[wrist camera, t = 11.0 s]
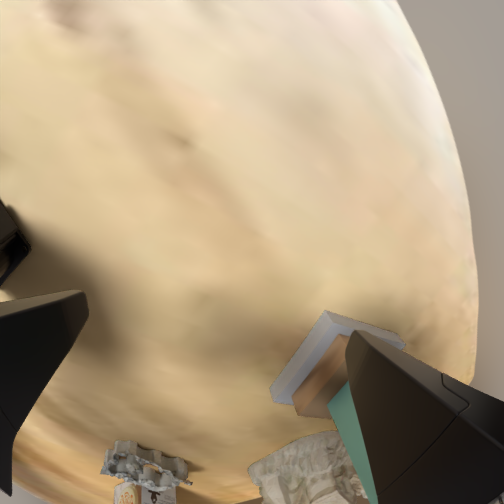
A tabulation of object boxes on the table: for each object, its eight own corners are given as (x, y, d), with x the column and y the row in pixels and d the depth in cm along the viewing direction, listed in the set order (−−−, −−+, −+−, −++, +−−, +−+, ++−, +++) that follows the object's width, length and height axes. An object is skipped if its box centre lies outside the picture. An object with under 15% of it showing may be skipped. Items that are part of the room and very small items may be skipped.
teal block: (326, 404, 25) (371, 506, 15) (356, 370, 23) (417, 475, 13) (360, 407, 26) (406, 496, 16) (389, 376, 25) (447, 466, 15)
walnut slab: (351, 403, 29) (360, 419, 27) (291, 396, 27) (297, 415, 25) (397, 349, 27) (409, 365, 25) (338, 333, 24) (350, 352, 22)
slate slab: (341, 395, 32) (349, 410, 30) (268, 383, 29) (273, 402, 27) (394, 330, 29) (406, 344, 27) (322, 305, 26) (332, 322, 24)
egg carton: (195, 460, 33) (197, 485, 29) (165, 476, 34) (165, 499, 31) (122, 432, 29) (120, 460, 25) (98, 451, 30) (95, 476, 27)
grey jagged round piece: (232, 468, 35) (259, 560, 21) (336, 413, 33) (389, 509, 20) (286, 484, 42) (312, 552, 29) (368, 440, 41) (408, 508, 28)
